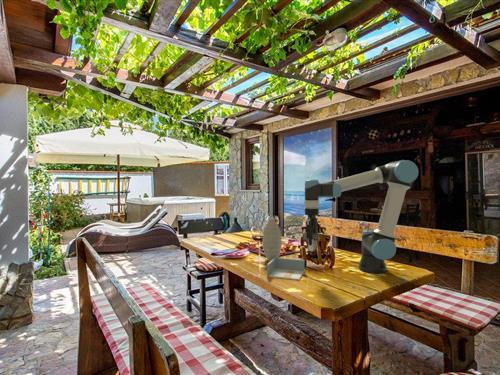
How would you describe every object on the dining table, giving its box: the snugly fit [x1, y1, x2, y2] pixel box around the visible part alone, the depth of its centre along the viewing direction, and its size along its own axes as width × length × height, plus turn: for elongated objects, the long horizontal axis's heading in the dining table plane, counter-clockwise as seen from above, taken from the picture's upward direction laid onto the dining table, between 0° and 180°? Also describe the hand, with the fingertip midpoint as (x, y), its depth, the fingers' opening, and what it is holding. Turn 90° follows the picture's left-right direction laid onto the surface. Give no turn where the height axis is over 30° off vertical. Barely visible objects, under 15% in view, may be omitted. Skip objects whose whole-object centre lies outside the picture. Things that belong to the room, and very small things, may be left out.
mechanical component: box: [301, 231, 322, 253], centre depth 164 cm, size 3×10×10 cm, turn 61°
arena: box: [266, 257, 305, 281], centre depth 169 cm, size 18×15×7 cm
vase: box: [262, 217, 283, 262], centre depth 198 cm, size 13×13×28 cm
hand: (311, 249), depth 164 cm, fingers closed on mechanical component, 3 cm apart
